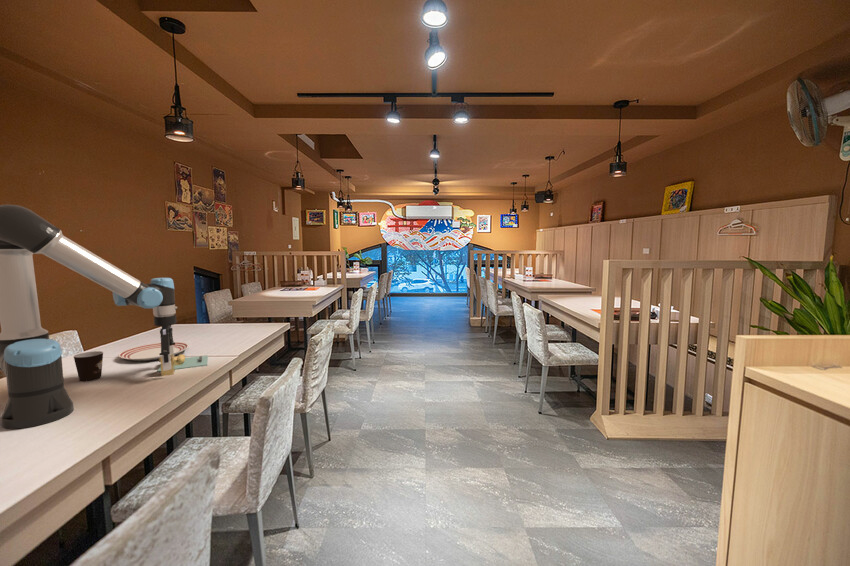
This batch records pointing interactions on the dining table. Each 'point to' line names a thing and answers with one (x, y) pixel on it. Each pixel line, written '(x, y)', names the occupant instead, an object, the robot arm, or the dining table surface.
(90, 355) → the coffee mug
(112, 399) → the dining table surface
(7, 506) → the dining table surface
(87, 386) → the dining table surface
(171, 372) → the yellow tan block
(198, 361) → the hinge base
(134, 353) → the dinner plate
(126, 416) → the dining table surface
